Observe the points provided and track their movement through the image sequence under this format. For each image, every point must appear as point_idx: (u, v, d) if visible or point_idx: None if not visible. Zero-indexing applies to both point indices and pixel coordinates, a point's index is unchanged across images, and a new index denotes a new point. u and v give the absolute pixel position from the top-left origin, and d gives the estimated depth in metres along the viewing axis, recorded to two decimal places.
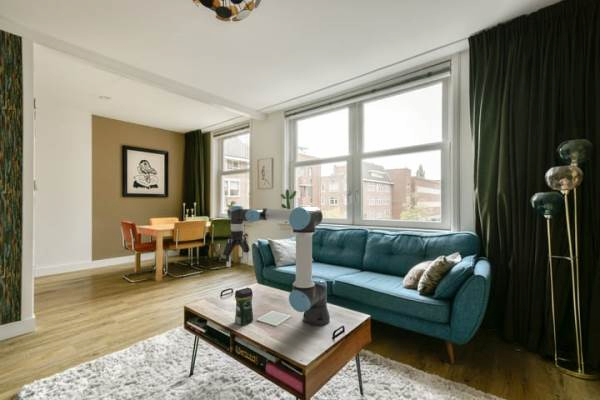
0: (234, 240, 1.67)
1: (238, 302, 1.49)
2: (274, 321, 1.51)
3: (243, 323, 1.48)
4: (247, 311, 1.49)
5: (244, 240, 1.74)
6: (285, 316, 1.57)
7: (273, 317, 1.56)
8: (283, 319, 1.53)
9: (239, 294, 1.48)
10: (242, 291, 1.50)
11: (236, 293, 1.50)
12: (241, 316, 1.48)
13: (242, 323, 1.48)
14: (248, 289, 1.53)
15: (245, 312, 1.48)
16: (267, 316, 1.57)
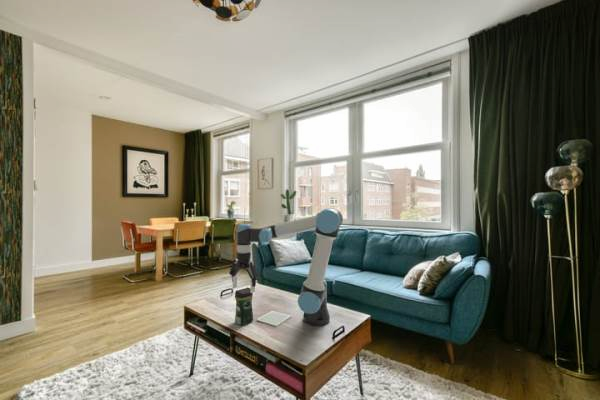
0: (238, 261, 1.53)
1: (238, 302, 1.49)
2: (274, 321, 1.51)
3: (243, 323, 1.48)
4: (247, 311, 1.49)
5: None
6: (285, 316, 1.57)
7: (273, 317, 1.56)
8: (283, 319, 1.53)
9: (239, 294, 1.48)
10: (242, 291, 1.50)
11: (236, 293, 1.50)
12: (241, 316, 1.48)
13: (242, 323, 1.48)
14: (248, 289, 1.53)
15: (245, 312, 1.48)
16: (267, 316, 1.57)
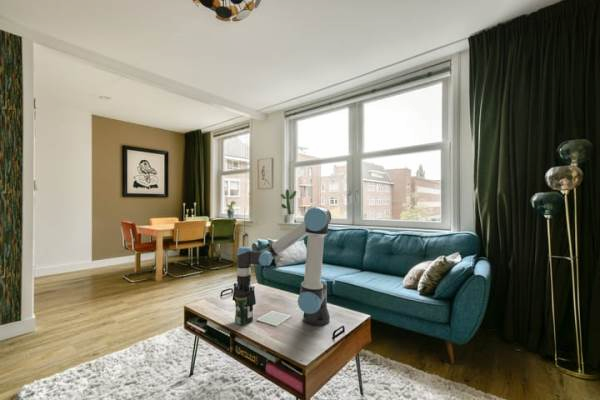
0: (238, 284, 1.53)
1: (238, 302, 1.49)
2: (274, 321, 1.51)
3: (243, 323, 1.48)
4: (247, 310, 1.49)
5: (250, 290, 1.49)
6: (285, 316, 1.57)
7: (273, 317, 1.56)
8: (283, 319, 1.53)
9: (239, 294, 1.48)
10: (242, 291, 1.50)
11: (236, 293, 1.50)
12: (241, 316, 1.48)
13: (242, 323, 1.48)
14: None
15: (245, 312, 1.48)
16: (267, 316, 1.57)
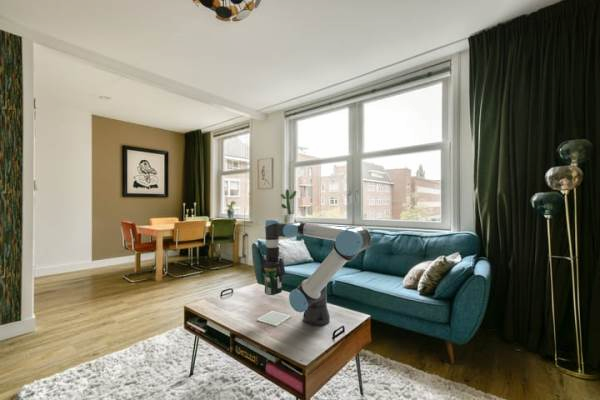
0: (267, 256, 1.56)
1: (268, 273, 1.52)
2: (274, 321, 1.51)
3: (273, 293, 1.51)
4: (276, 281, 1.53)
5: None
6: (285, 316, 1.57)
7: (273, 317, 1.56)
8: (283, 319, 1.53)
9: (269, 265, 1.51)
10: (271, 262, 1.53)
11: (265, 264, 1.53)
12: (271, 286, 1.51)
13: (272, 293, 1.51)
14: None
15: (275, 282, 1.52)
16: (267, 316, 1.57)
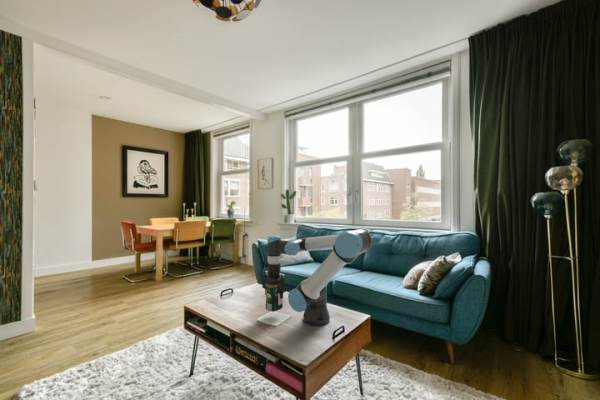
0: (268, 272, 1.57)
1: (269, 289, 1.53)
2: (274, 321, 1.51)
3: (274, 309, 1.52)
4: (277, 297, 1.53)
5: None
6: (285, 316, 1.57)
7: (273, 317, 1.56)
8: (283, 319, 1.53)
9: (270, 281, 1.52)
10: (273, 278, 1.53)
11: (267, 280, 1.53)
12: (272, 303, 1.52)
13: (273, 309, 1.52)
14: None
15: (275, 299, 1.52)
16: (267, 316, 1.57)
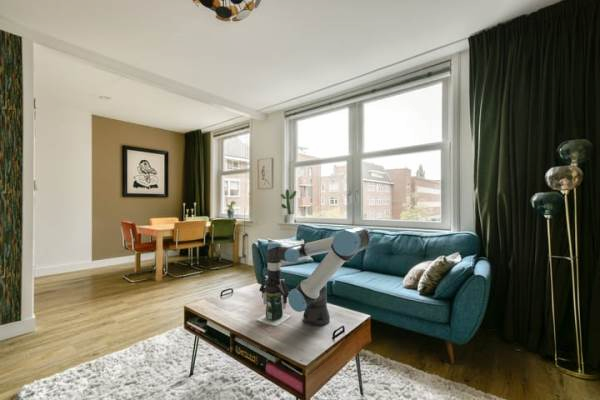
0: (268, 278, 1.57)
1: (269, 298, 1.52)
2: (274, 321, 1.51)
3: (274, 318, 1.52)
4: (277, 306, 1.53)
5: None
6: (285, 316, 1.57)
7: None
8: (283, 319, 1.53)
9: (270, 290, 1.52)
10: (273, 287, 1.53)
11: (267, 289, 1.53)
12: (272, 311, 1.52)
13: (273, 318, 1.52)
14: None
15: (276, 307, 1.52)
16: None
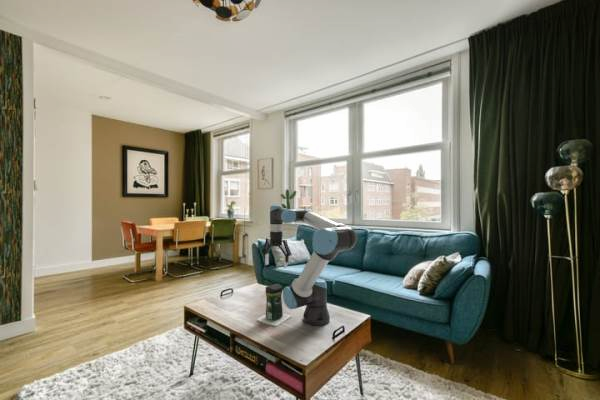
0: (271, 240, 1.65)
1: (269, 298, 1.53)
2: (274, 321, 1.51)
3: (274, 318, 1.52)
4: (277, 306, 1.53)
5: None
6: (285, 316, 1.57)
7: None
8: (283, 319, 1.53)
9: (270, 290, 1.52)
10: (273, 287, 1.53)
11: (267, 289, 1.54)
12: (272, 311, 1.52)
13: (273, 318, 1.52)
14: (278, 285, 1.57)
15: (276, 307, 1.52)
16: None
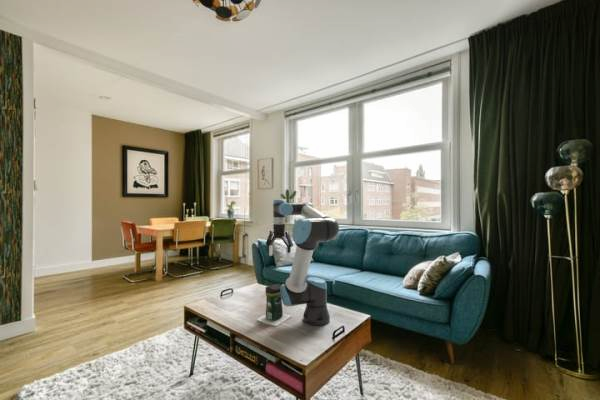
0: (274, 232, 1.76)
1: (269, 298, 1.53)
2: (274, 321, 1.51)
3: (274, 318, 1.52)
4: (277, 306, 1.53)
5: None
6: (285, 316, 1.57)
7: None
8: (283, 319, 1.53)
9: (270, 290, 1.52)
10: (273, 287, 1.53)
11: (267, 289, 1.53)
12: (272, 311, 1.52)
13: (273, 318, 1.52)
14: (278, 285, 1.57)
15: (276, 307, 1.52)
16: None
